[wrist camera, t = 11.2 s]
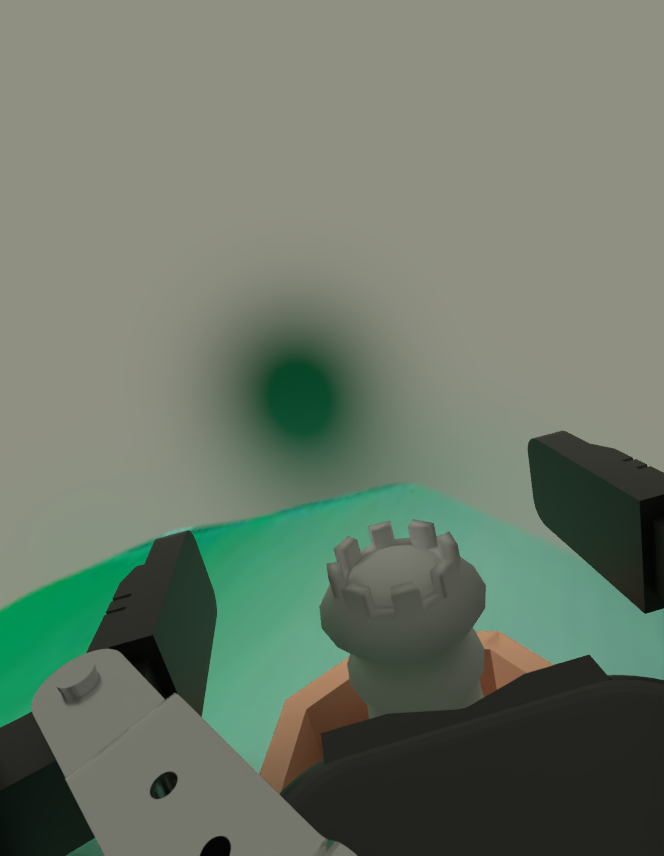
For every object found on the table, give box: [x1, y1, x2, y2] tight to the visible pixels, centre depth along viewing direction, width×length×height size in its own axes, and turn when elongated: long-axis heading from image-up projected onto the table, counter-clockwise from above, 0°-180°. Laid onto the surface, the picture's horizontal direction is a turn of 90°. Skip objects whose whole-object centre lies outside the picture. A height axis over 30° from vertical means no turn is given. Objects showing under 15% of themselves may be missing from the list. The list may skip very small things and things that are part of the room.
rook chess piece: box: [320, 520, 486, 719], centre depth 11 cm, size 4×4×8 cm
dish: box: [259, 631, 553, 794], centre depth 12 cm, size 8×8×3 cm
